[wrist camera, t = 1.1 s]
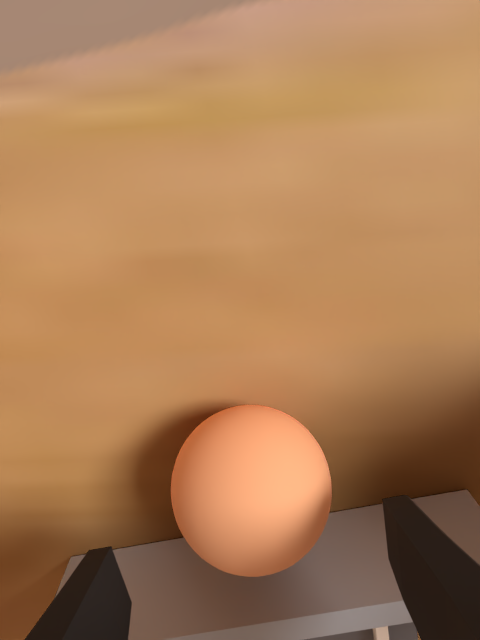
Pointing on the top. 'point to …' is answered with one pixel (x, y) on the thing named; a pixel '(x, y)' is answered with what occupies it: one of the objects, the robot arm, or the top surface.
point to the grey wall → (283, 582)
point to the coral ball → (251, 490)
